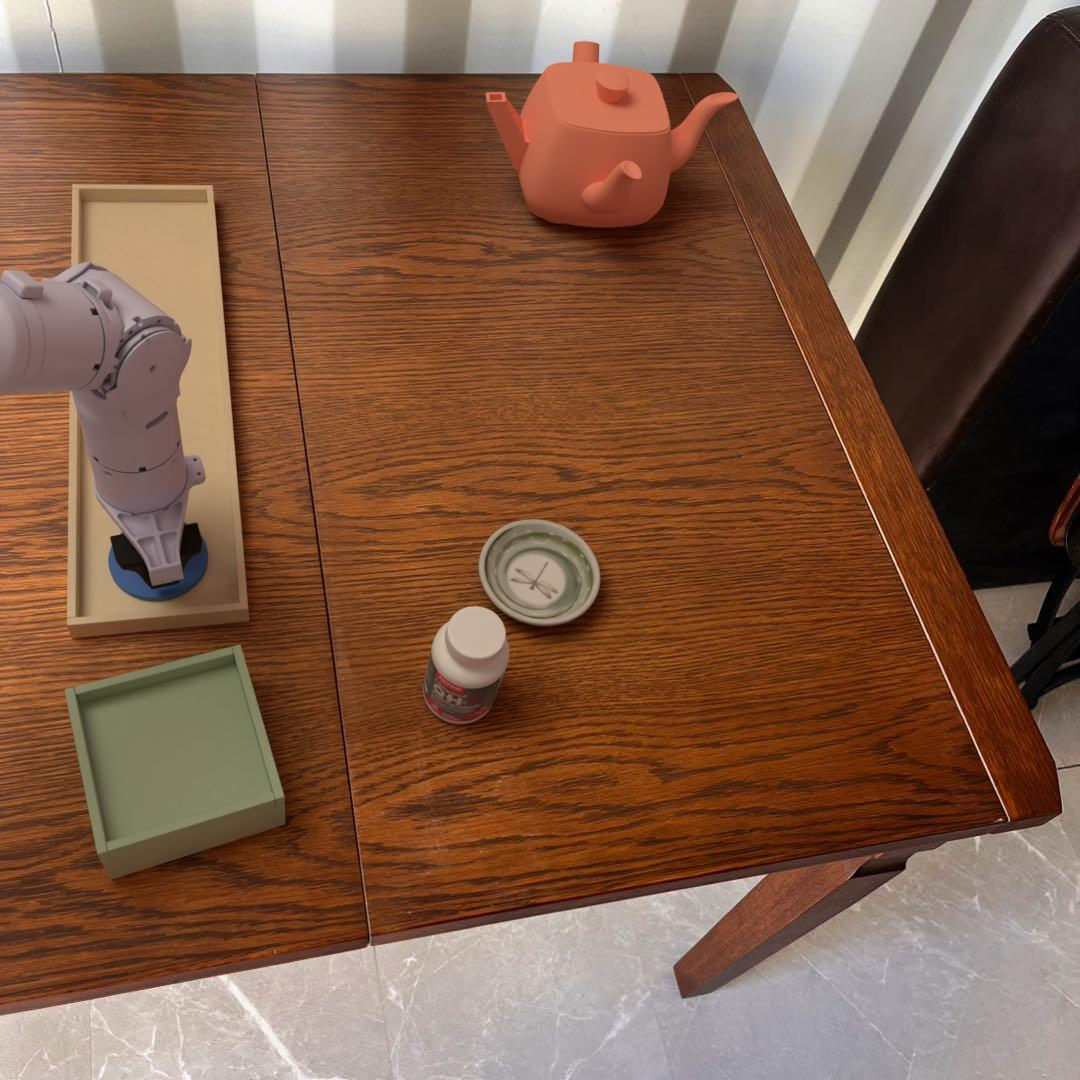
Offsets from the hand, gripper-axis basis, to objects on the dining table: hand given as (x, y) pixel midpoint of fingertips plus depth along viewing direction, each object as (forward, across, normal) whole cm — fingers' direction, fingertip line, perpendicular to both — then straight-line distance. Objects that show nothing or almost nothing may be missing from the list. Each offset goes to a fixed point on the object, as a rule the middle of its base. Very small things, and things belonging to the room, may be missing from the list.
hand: (156, 550), depth 80 cm
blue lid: (+2, 0, 0) cm, 2 cm away
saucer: (+2, -10, -27) cm, 29 cm away
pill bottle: (+2, -16, -18) cm, 25 cm away
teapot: (+2, +32, -50) cm, 60 cm away
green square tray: (+2, -16, +2) cm, 17 cm away
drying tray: (+2, +17, -3) cm, 17 cm away
